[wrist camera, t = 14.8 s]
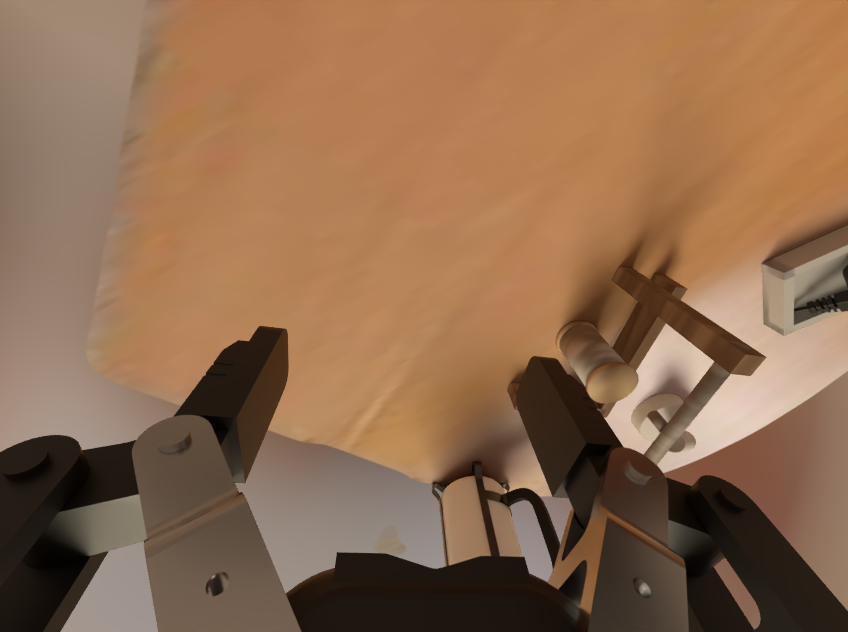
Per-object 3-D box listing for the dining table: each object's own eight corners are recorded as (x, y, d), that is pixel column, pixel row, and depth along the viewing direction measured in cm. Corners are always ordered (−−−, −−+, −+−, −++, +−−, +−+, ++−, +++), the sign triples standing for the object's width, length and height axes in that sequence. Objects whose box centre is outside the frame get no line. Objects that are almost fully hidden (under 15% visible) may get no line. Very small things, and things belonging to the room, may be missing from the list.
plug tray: (913, 195, 41) (947, 200, 38) (898, 267, 46) (928, 277, 44) (761, 263, 44) (784, 272, 42) (763, 324, 50) (783, 335, 47)
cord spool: (590, 313, 47) (632, 358, 38) (600, 342, 50) (642, 390, 41) (550, 332, 48) (582, 380, 40) (562, 359, 51) (595, 409, 42)
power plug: (774, 307, 46) (927, 276, 37) (765, 265, 50) (902, 227, 40) (790, 328, 48) (938, 304, 39) (780, 287, 52) (913, 256, 42)
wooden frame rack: (507, 391, 53) (552, 509, 37) (561, 257, 42) (658, 343, 26) (593, 399, 55) (670, 514, 40) (666, 273, 44) (814, 363, 29)
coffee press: (501, 509, 70) (559, 738, 45) (424, 506, 68) (440, 745, 42) (528, 454, 62) (621, 698, 36) (442, 448, 59) (476, 704, 34)
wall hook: (704, 429, 46) (741, 454, 50) (658, 382, 54) (692, 406, 58) (651, 464, 50) (689, 485, 53) (615, 414, 58) (650, 435, 61)
